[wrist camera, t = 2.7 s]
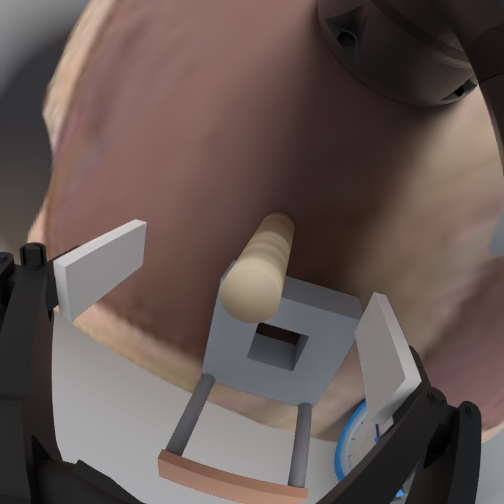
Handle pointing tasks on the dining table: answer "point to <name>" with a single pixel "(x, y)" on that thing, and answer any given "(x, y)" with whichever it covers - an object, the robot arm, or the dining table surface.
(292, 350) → the socket station
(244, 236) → the dining table surface
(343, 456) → the alarm clock
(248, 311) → the peg
